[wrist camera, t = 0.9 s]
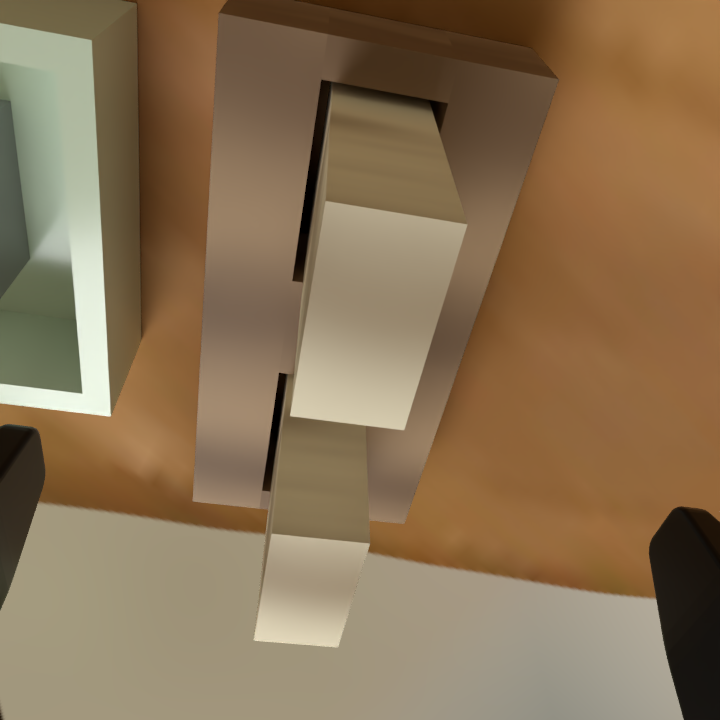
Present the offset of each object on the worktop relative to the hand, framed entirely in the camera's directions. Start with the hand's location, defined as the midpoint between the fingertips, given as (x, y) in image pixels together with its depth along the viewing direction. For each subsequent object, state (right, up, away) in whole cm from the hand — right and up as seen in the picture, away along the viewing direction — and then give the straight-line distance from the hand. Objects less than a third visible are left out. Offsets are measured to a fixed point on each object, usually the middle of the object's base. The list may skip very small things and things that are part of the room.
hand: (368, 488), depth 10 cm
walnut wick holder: (-1, +4, +13) cm, 14 cm away
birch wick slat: (0, +8, +11) cm, 13 cm away
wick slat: (-2, +1, +16) cm, 16 cm away
